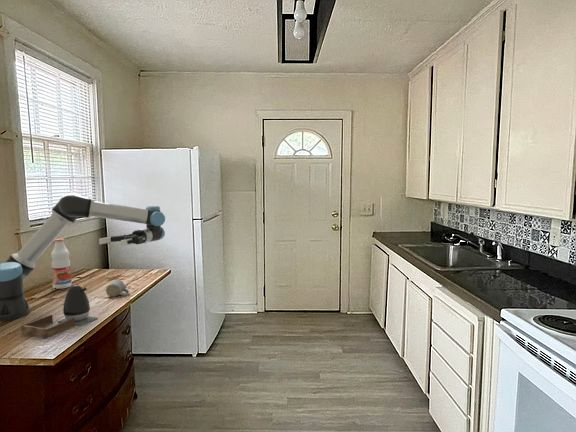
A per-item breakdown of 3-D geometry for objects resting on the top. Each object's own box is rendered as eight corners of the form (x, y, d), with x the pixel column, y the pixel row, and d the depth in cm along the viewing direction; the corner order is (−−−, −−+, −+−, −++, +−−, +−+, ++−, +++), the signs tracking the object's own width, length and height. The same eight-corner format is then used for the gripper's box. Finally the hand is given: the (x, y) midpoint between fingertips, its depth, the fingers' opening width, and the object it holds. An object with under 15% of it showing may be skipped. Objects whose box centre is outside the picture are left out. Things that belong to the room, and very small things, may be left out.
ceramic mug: (105, 297, 196) (104, 283, 195) (110, 293, 204) (110, 279, 204) (126, 297, 198) (126, 283, 197) (130, 292, 206) (130, 279, 205)
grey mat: (57, 322, 162) (57, 321, 162) (75, 315, 170) (75, 314, 170) (80, 326, 158) (80, 325, 157) (97, 318, 166) (97, 317, 166)
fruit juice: (63, 284, 224) (61, 237, 221) (75, 285, 220) (72, 238, 218) (48, 288, 215) (45, 239, 212) (60, 289, 212) (57, 240, 209)
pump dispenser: (79, 324, 158) (77, 289, 156) (57, 322, 160) (55, 288, 159) (96, 316, 168) (94, 282, 166) (76, 314, 170) (74, 281, 169)
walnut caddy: (21, 333, 150) (21, 325, 149) (51, 322, 162) (51, 314, 161) (46, 338, 145) (45, 329, 145) (75, 326, 157) (74, 318, 157)
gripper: (160, 244, 197) (131, 251, 177) (123, 242, 205) (91, 248, 186) (160, 230, 196) (130, 235, 176) (122, 228, 205) (90, 233, 185)
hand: (110, 242), depth 181 cm, fingers open, 13 cm apart
